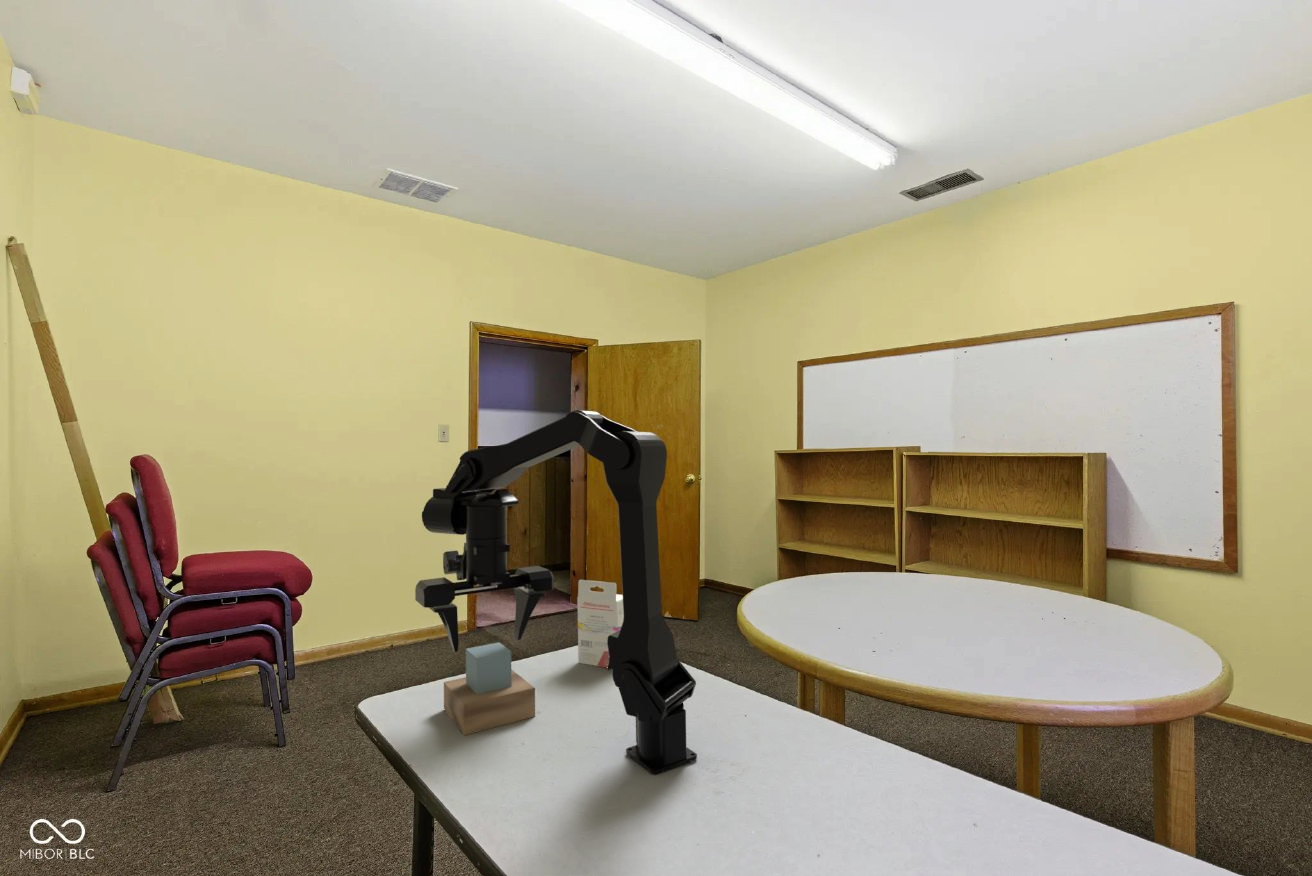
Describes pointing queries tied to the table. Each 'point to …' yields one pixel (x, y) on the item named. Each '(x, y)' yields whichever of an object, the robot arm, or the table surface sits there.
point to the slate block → (488, 668)
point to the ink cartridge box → (597, 620)
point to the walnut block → (488, 704)
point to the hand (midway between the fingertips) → (487, 645)
